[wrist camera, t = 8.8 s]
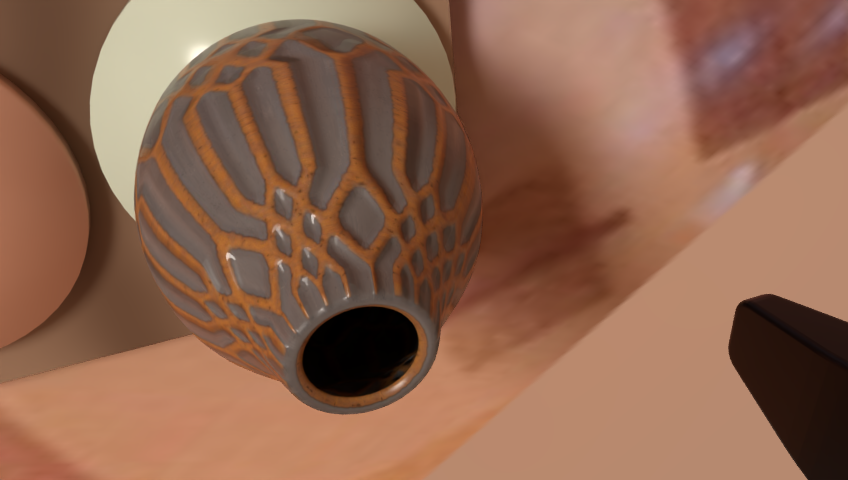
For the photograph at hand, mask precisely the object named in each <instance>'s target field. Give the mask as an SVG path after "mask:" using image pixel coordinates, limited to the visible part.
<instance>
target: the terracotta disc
mask: <svg viewBox="0 0 848 480" xmlns="http://www.w3.org/2000/svg"><path fill="white" fill-rule="evenodd" d="M89 233H90V203H89V198H88V192H87V187H86V183H85V181H84V178H83V175H82V172H81V169H80V166H79V164H78V162H77V160H76V158H75V156H74V154H73V152H72V150H71V148H70V146H69V145H68V143H67V141H66V140H65V139H64V137H63V136H62V134H61V133H60V131H59V130H58V129H57V127H56V126H55V124H54V123H53V122H52V121H51V119H50V118H49V117H48V116H47V115H46V114H45V113H44V112H43V111H42V109H41V108H40V107H39V106H38V105H37V104H36V103H35V102H34V101H33V100H32V99H31V98H30V97H29V96H27V95H26V94H25V93H24V92H23V91H22V90H21V89H20V88H18V87H17V86H16V85H15V84H14V83H13V82H11V81H10V80H9V79H7V78H6V77H4V76H3V75H2V74H0V348H2V347H4V346H7V345H9V344H11V343H12V342H14V341H16V340H18V339H20V338H21V337H23V336H25V335H27V334H28V333H29V332H31V331H32V330H33V329H35V328H36V327H38V326H39V325H40V324H42V323H43V322H44V321H45V320H46V319H47V318H48V317H49V316H50V315H51V314H52V313H53V312H54V311H55V310H56V309H58V307H59V306H60V305H61V303H62V302H63V301H64V299H65V298H66V297H67V295H68V294H69V293H70V291H71V289H72V287H73V286H74V284H75V282H76V280H77V278H78V276H79V274H80V270H81V267H82V264H83V261H84V258H85V255H86V250H87V246H88V239H89Z"/></svg>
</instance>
